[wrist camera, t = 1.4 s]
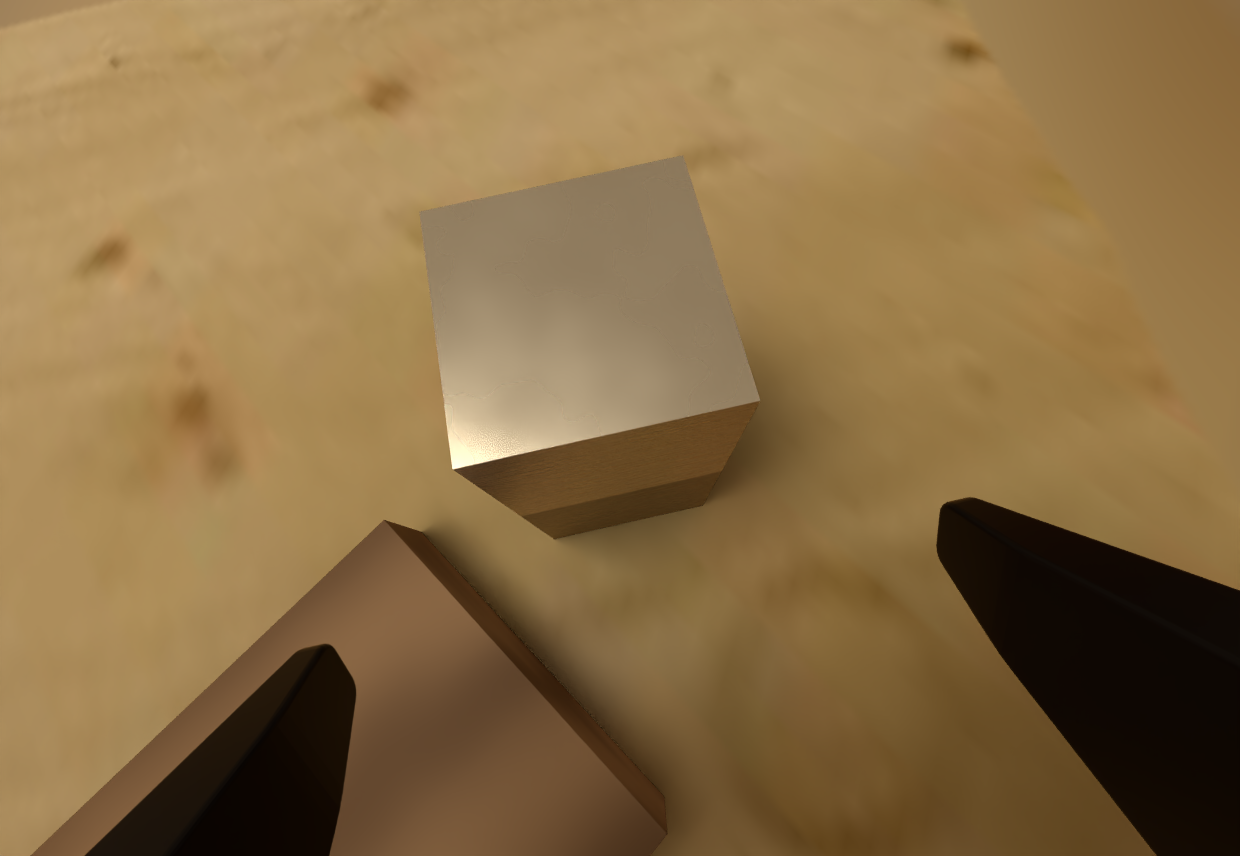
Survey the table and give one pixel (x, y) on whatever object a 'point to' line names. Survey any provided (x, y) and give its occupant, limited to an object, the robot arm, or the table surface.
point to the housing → (587, 347)
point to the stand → (423, 725)
